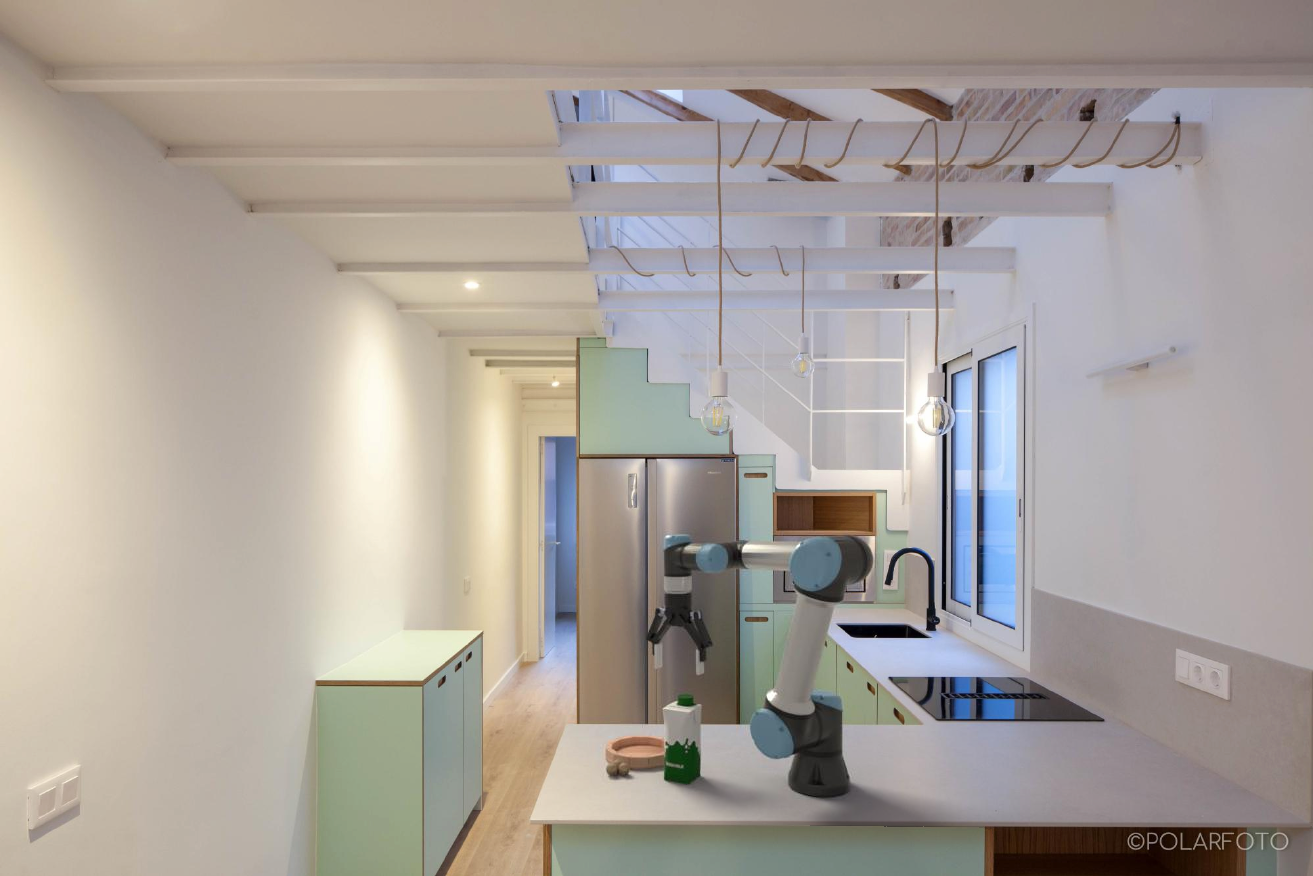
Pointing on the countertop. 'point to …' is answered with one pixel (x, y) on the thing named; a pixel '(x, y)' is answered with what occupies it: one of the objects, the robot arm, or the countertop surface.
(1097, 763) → the countertop surface
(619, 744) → the tray
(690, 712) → the soya milk
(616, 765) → the bead pile
